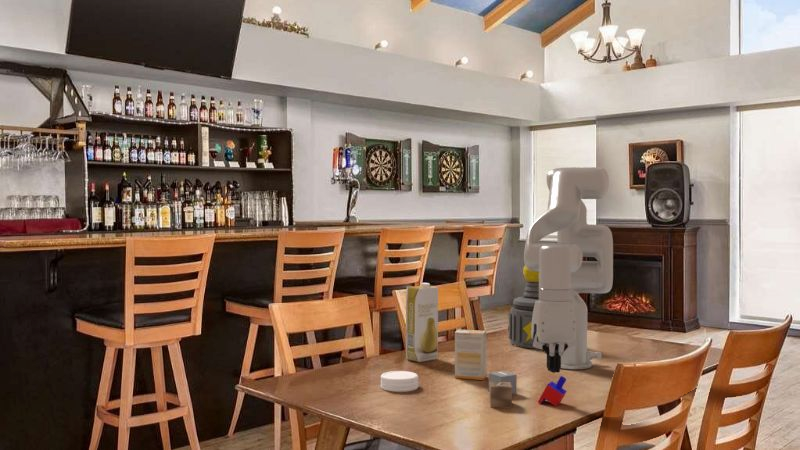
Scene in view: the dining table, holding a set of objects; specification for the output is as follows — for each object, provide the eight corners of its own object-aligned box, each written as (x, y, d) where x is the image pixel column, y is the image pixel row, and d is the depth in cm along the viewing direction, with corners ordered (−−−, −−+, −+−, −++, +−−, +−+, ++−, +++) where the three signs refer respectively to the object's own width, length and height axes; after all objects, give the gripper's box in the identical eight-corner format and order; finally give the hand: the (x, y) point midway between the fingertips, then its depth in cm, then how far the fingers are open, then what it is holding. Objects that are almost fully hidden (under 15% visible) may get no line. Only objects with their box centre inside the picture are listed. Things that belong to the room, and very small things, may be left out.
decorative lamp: (502, 346, 239) (503, 259, 239) (515, 337, 257) (516, 255, 256) (557, 351, 232) (558, 261, 231) (567, 341, 249) (568, 257, 249)
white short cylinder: (374, 385, 187) (374, 372, 187) (408, 381, 191) (409, 369, 191) (389, 394, 178) (389, 380, 178) (424, 390, 182) (424, 377, 182)
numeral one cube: (503, 389, 183) (504, 370, 183) (516, 394, 178) (516, 374, 178) (488, 392, 180) (488, 372, 180) (500, 396, 176) (501, 376, 176)
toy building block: (552, 412, 168) (568, 384, 166) (537, 402, 169) (552, 374, 167) (556, 408, 171) (572, 381, 169) (542, 398, 173) (557, 371, 171)
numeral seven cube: (510, 402, 171) (510, 381, 170) (511, 408, 166) (512, 386, 166) (489, 401, 171) (489, 381, 171) (490, 407, 166) (490, 386, 166)
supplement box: (487, 377, 196) (487, 330, 196) (483, 381, 191) (483, 333, 191) (458, 374, 199) (458, 328, 198) (454, 378, 194) (454, 331, 194)
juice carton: (419, 363, 212) (420, 284, 212) (402, 359, 218) (402, 282, 218) (441, 359, 219) (442, 282, 218) (424, 355, 224) (424, 280, 224)
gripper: (574, 293, 175) (573, 366, 175) (519, 294, 171) (518, 369, 171) (590, 296, 168) (589, 373, 168) (533, 298, 164) (532, 376, 164)
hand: (553, 371), depth 170 cm, fingers closed
